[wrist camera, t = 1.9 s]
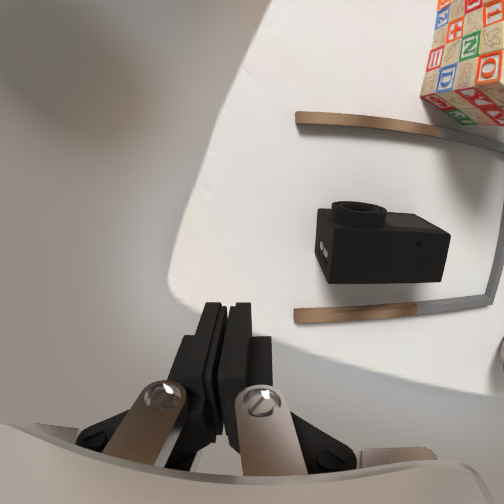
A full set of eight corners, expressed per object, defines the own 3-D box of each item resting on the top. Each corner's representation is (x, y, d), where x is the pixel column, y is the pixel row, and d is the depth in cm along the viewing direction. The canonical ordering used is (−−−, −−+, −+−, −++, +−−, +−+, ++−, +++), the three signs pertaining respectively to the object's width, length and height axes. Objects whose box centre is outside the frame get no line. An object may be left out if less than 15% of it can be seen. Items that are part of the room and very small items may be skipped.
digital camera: (417, 202, 25) (455, 220, 19) (409, 253, 27) (442, 282, 21) (317, 195, 26) (335, 212, 19) (314, 251, 28) (328, 284, 21)
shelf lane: (433, 127, 23) (439, 126, 21) (412, 309, 29) (416, 314, 28) (295, 113, 23) (296, 111, 22) (293, 316, 30) (294, 323, 29)
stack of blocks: (439, -33, 15) (490, -71, 3) (478, -5, 15) (534, -31, 3) (418, 98, 22) (501, 81, 10) (463, 127, 22) (547, 131, 11)
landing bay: (511, 147, 22) (518, 148, 21) (487, 300, 29) (492, 304, 28) (433, 127, 23) (439, 126, 21) (412, 309, 29) (416, 314, 28)
